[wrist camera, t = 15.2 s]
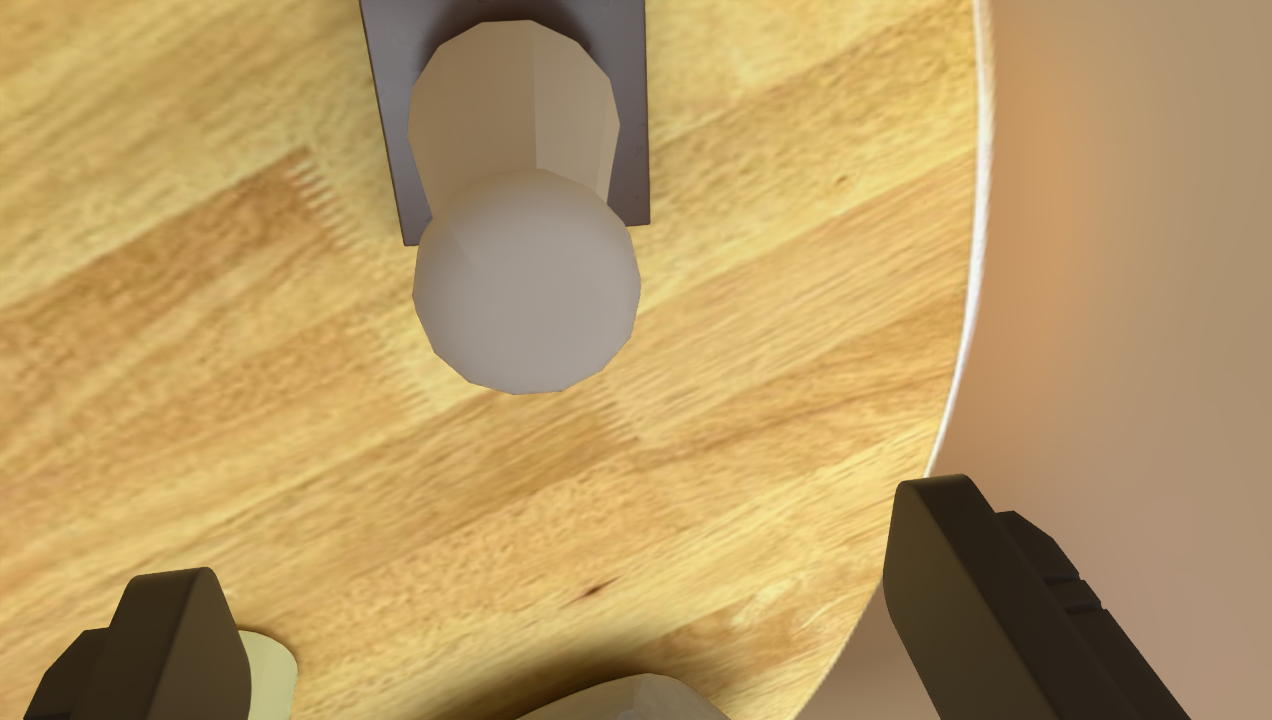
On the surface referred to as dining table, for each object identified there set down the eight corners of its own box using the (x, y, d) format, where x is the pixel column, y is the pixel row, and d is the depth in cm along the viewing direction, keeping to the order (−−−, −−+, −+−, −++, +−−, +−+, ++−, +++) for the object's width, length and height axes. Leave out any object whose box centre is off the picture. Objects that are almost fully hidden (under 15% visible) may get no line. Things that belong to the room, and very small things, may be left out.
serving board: (406, 232, 30) (403, 247, 29) (352, -65, 25) (347, -59, 24) (645, 211, 31) (650, 225, 30) (637, -81, 26) (643, -76, 25)
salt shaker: (607, -1, 26) (697, 156, 15) (611, 188, 29) (689, 431, 18) (398, 6, 25) (337, 176, 15) (425, 200, 29) (391, 458, 18)
